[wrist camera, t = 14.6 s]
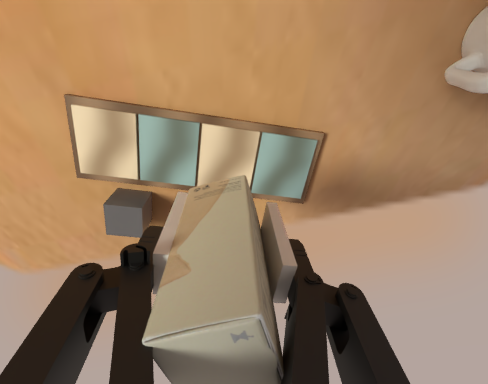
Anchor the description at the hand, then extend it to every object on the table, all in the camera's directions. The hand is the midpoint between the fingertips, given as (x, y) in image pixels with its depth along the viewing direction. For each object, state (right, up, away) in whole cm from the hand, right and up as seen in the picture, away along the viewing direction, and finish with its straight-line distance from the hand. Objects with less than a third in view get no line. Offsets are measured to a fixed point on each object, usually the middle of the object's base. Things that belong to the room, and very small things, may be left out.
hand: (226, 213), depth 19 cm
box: (0, 0, 0) cm, 1 cm away
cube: (-12, 0, +13) cm, 18 cm away
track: (-4, +6, +10) cm, 12 cm away
